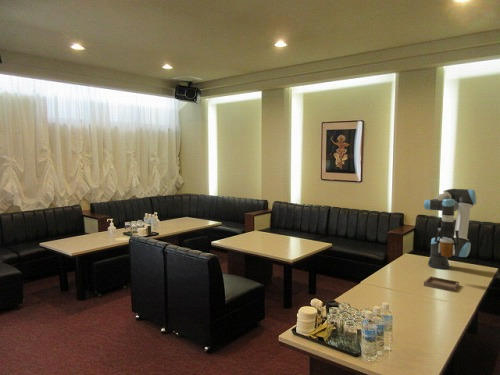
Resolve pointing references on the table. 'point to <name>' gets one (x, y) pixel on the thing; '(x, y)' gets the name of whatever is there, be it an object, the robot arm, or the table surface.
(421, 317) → the table surface
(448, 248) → the disposable coffee cup
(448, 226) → the robot arm
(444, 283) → the walnut tray
